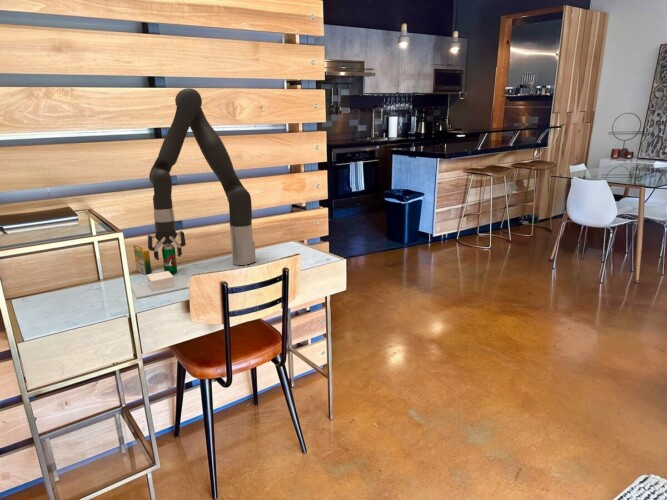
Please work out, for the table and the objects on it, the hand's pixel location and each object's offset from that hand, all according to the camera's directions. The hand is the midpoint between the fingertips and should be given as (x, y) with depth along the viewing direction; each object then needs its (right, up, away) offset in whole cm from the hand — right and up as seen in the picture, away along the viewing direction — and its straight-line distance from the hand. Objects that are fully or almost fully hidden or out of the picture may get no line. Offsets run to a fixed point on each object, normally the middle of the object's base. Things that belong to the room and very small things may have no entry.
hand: (168, 258), depth 189 cm
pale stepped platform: (+2, -11, -13) cm, 17 cm away
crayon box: (-11, -6, +4) cm, 13 cm away
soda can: (+1, -6, +2) cm, 7 cm away
